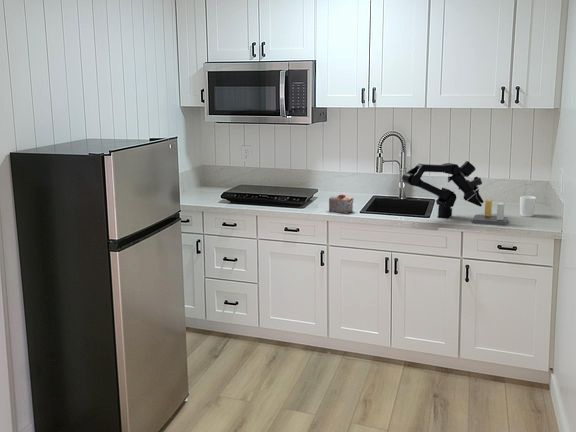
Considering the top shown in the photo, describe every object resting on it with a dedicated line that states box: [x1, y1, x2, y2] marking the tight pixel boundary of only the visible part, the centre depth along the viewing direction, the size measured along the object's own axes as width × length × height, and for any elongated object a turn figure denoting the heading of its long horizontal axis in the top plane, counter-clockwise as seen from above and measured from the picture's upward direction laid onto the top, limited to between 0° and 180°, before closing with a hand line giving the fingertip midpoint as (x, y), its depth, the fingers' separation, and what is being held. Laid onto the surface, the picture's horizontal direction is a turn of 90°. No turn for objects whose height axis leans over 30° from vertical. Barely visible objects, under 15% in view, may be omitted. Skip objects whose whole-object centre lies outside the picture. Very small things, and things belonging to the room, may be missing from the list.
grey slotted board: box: [471, 214, 509, 227], centre depth 300 cm, size 16×12×2 cm
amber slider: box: [484, 199, 493, 217], centre depth 303 cm, size 3×4×8 cm
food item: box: [328, 194, 354, 213], centre depth 330 cm, size 14×8×10 cm, turn 65°
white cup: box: [519, 195, 537, 218], centre depth 312 cm, size 8×8×10 cm
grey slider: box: [496, 202, 505, 220], centre depth 295 cm, size 3×4×8 cm
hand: (482, 204), depth 309 cm, fingers open, 9 cm apart
